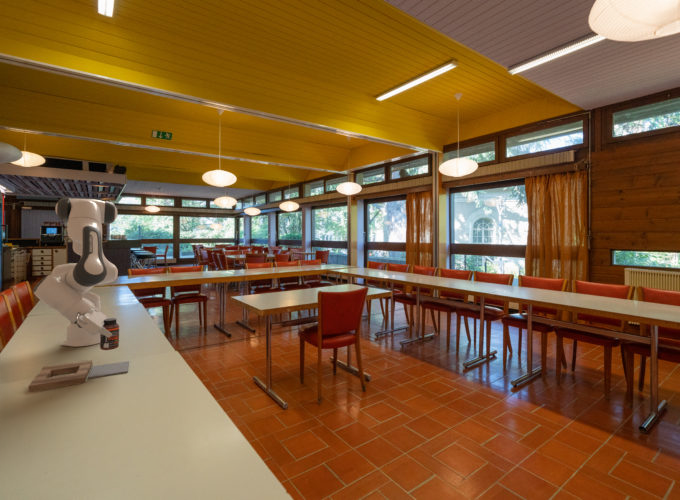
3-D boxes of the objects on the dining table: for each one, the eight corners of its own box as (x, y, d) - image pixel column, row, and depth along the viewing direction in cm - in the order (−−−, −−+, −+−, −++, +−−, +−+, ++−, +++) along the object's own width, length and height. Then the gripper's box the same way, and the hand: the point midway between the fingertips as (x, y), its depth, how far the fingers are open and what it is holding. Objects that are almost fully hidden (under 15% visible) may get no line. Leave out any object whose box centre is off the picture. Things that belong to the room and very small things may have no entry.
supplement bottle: (109, 351, 123) (109, 321, 123) (96, 350, 125) (96, 320, 124) (122, 346, 129) (123, 318, 129) (110, 345, 130) (110, 317, 130)
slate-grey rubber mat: (93, 367, 129) (93, 366, 129) (129, 362, 135) (129, 360, 135) (88, 378, 119) (88, 377, 119) (127, 372, 125) (127, 371, 125)
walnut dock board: (43, 371, 124) (43, 366, 124) (92, 365, 132) (92, 360, 132) (28, 391, 108) (28, 385, 108) (84, 382, 116) (84, 377, 116)
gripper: (82, 309, 114) (116, 333, 119) (91, 299, 132) (120, 321, 137) (66, 323, 112) (101, 347, 117) (77, 311, 129) (107, 333, 135)
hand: (111, 333), depth 127 cm, fingers closed on supplement bottle, 6 cm apart
